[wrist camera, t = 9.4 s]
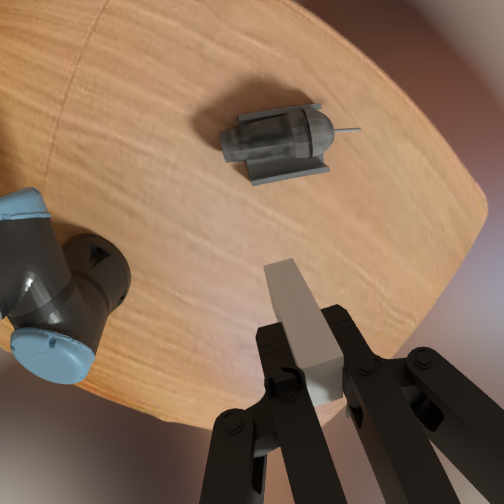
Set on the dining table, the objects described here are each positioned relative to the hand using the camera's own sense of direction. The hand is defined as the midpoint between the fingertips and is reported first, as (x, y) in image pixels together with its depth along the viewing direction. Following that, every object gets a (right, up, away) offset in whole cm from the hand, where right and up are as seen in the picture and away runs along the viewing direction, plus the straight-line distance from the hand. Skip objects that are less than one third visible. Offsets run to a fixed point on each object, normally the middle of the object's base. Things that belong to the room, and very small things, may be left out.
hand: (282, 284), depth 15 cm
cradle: (+3, +18, +28) cm, 33 cm away
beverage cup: (-6, +16, +25) cm, 30 cm away
